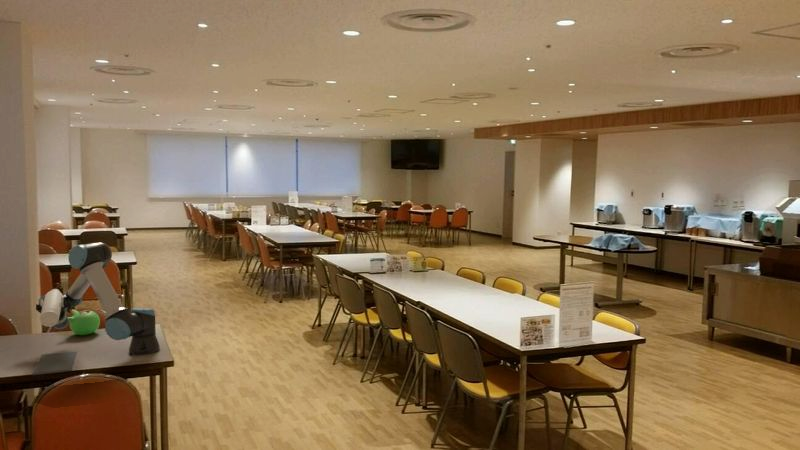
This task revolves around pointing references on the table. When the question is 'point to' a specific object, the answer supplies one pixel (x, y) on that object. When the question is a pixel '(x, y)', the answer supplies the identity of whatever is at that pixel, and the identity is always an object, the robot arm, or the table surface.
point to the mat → (55, 363)
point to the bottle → (51, 308)
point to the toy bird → (84, 322)
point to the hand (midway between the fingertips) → (51, 301)
